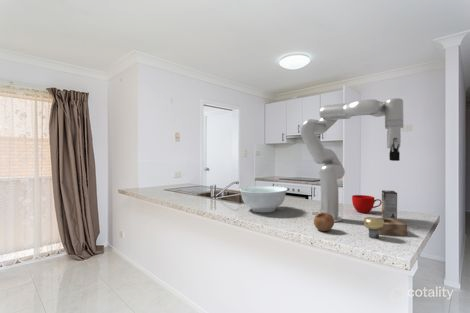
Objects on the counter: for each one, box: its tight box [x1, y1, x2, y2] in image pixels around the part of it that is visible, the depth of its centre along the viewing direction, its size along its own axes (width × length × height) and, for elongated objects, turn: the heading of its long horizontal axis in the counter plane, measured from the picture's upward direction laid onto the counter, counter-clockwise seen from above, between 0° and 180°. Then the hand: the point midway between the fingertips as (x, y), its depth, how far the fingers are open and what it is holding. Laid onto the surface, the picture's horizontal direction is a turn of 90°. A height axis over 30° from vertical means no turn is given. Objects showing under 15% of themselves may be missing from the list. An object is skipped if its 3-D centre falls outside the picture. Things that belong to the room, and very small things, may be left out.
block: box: [379, 217, 408, 237], centre depth 123 cm, size 12×12×5 cm
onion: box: [313, 213, 335, 232], centre depth 124 cm, size 10×9×10 cm
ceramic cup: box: [351, 194, 382, 214], centre depth 163 cm, size 13×17×10 cm
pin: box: [363, 216, 384, 240], centre depth 114 cm, size 8×8×8 cm
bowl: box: [239, 185, 288, 214], centre depth 169 cm, size 32×32×15 cm
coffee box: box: [381, 189, 398, 220], centre depth 145 cm, size 9×6×16 cm
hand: (394, 160), depth 122 cm, fingers open, 9 cm apart
